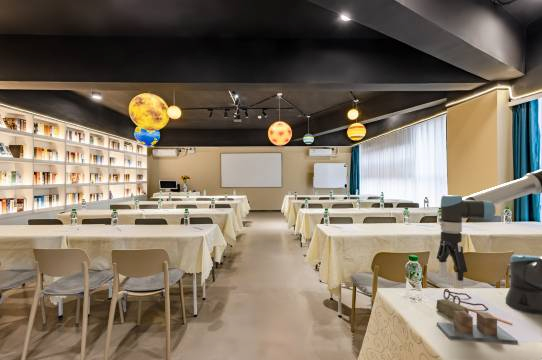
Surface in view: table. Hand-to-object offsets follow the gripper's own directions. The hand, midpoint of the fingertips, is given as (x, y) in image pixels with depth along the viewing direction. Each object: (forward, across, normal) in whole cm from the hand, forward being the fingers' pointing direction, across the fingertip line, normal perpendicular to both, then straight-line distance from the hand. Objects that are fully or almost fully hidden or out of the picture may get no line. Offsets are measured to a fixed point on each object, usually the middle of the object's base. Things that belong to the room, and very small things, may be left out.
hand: (450, 282), depth 120 cm
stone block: (+14, 0, +1) cm, 14 cm away
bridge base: (+14, +15, +2) cm, 20 cm away
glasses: (+14, -14, +13) cm, 24 cm away
